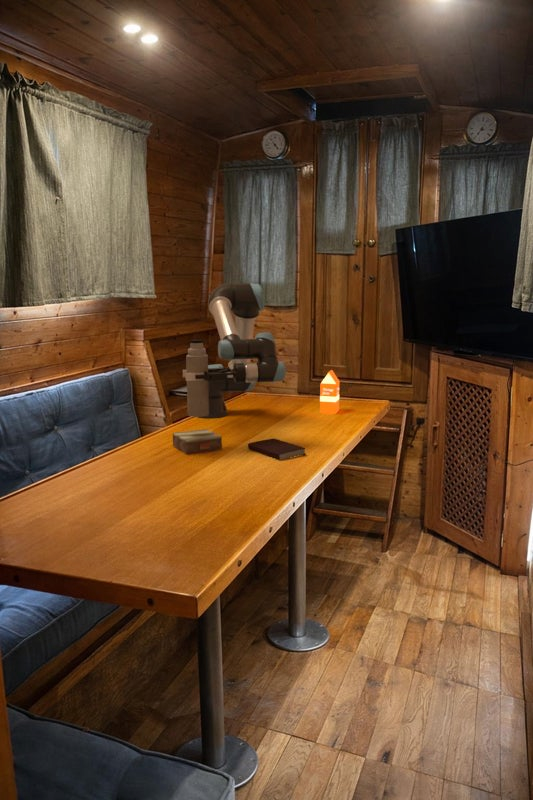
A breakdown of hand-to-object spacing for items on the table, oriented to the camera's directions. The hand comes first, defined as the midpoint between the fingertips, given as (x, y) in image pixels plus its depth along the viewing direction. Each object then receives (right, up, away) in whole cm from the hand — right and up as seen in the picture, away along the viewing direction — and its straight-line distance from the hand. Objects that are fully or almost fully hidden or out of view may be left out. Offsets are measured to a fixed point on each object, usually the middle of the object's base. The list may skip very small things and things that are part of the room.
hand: (184, 375), depth 240 cm
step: (+4, -27, +6) cm, 28 cm away
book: (+34, -29, 0) cm, 45 cm away
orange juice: (+60, -15, +71) cm, 94 cm away
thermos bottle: (+5, -15, +4) cm, 16 cm away
